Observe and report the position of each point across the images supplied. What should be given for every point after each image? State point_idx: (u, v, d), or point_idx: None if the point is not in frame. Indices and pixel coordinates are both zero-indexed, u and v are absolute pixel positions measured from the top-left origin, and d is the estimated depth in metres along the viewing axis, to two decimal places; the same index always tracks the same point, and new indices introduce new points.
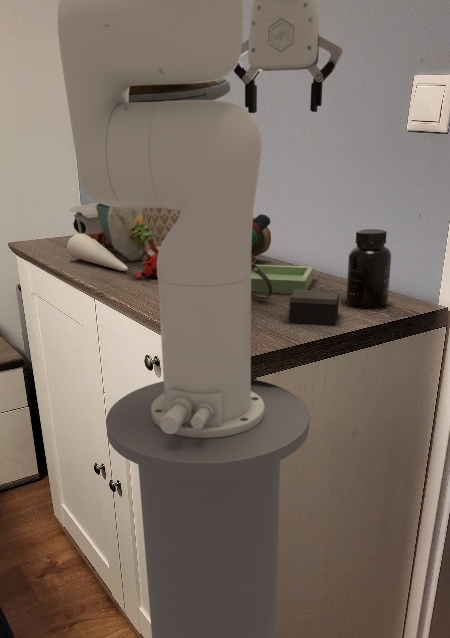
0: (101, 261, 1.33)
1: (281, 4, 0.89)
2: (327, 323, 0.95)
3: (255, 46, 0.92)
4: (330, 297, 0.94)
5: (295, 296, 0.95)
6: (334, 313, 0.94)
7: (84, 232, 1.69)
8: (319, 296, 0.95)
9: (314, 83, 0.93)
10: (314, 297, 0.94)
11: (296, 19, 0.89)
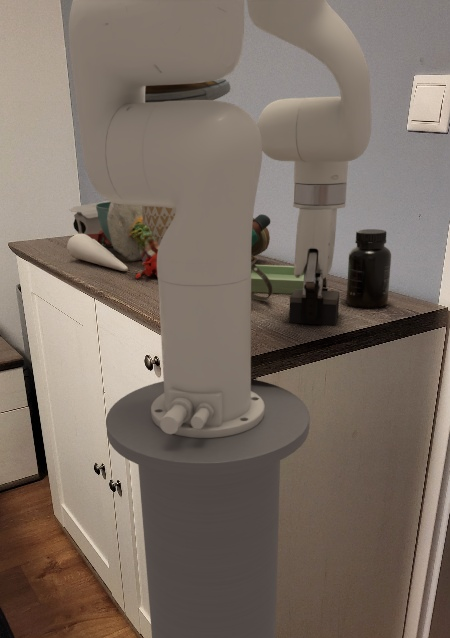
0: (101, 261, 1.33)
1: None
2: (327, 323, 0.95)
3: None
4: (330, 297, 0.94)
5: (295, 296, 0.95)
6: (334, 313, 0.94)
7: (84, 232, 1.69)
8: None
9: None
10: None
11: None
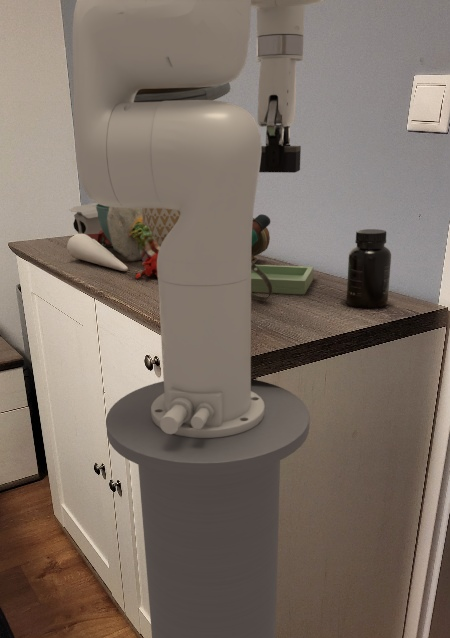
0: (101, 261, 1.33)
1: None
2: (289, 171, 1.06)
3: None
4: None
5: None
6: (294, 160, 1.05)
7: (84, 232, 1.69)
8: None
9: None
10: None
11: None
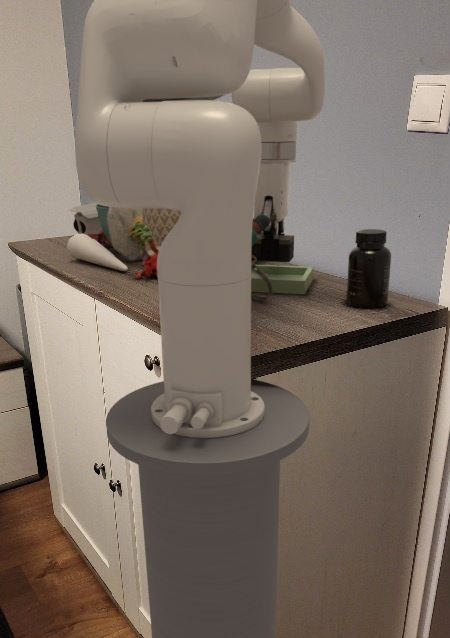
0: (101, 261, 1.33)
1: None
2: (283, 260, 1.14)
3: None
4: (285, 238, 1.13)
5: None
6: (288, 252, 1.13)
7: (84, 232, 1.69)
8: None
9: (261, 239, 1.13)
10: None
11: None
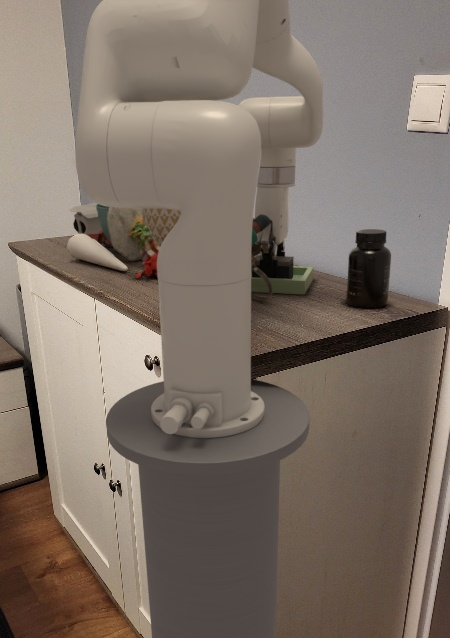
0: (101, 261, 1.33)
1: None
2: None
3: None
4: (284, 260, 1.15)
5: None
6: (288, 273, 1.14)
7: (84, 232, 1.69)
8: None
9: None
10: None
11: None
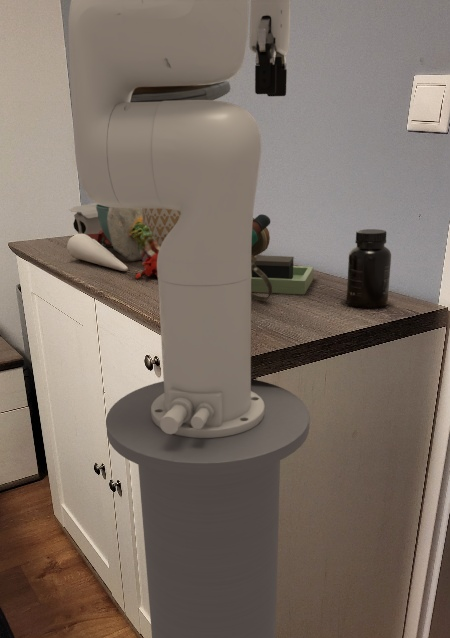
0: (101, 261, 1.33)
1: None
2: None
3: None
4: (284, 260, 1.15)
5: None
6: (288, 273, 1.14)
7: (84, 232, 1.69)
8: (276, 260, 1.15)
9: (255, 66, 0.96)
10: (271, 260, 1.15)
11: None
